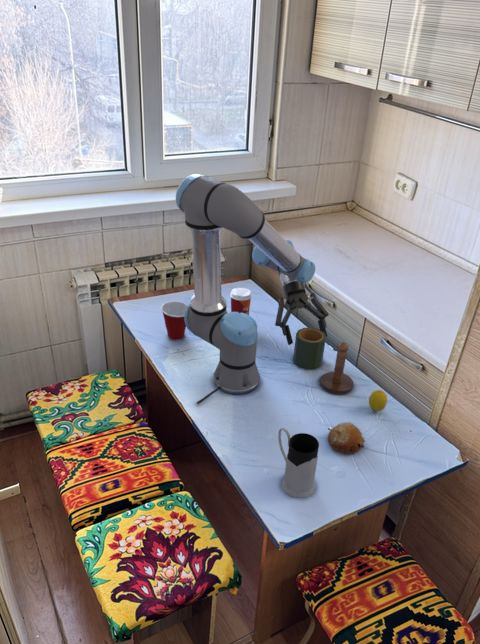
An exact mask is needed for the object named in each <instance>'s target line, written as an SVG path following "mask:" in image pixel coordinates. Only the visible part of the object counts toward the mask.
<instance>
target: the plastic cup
mask: <svg viewBox="0 0 480 644" xmlns="http://www.w3.org/2000/svg"><path fill="white" fill-rule="evenodd" d="M188 305H189V304H187V302H186V303H185V302H182V301H178V300H173V301H166V302H165V303H163V304H161V307H160V311H161V312H162V316H163V319H164V324H165V325H164V326H165V329H166V333H167V336H168V338H169V339H170V340H173V341H179V340H182V339H184V337H185V332H186V330H187V329H186V328H187V327H186V325H185V321H184V315H185V311H187V307H188Z"/></svg>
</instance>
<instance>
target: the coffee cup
mask: <svg viewBox="0 0 480 644" xmlns="http://www.w3.org/2000/svg"><path fill="white" fill-rule="evenodd" d="M229 296H230V312H238V313H245V314H247V315H249V316H250V310H251V302H252V301H251V300H252V298H253V294H252V291H251V290H250V289H248V288H245V287H235V288H232V290H231V291H230V293H229Z"/></svg>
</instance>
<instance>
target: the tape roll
mask: <svg viewBox="0 0 480 644" xmlns="http://www.w3.org/2000/svg"><path fill="white" fill-rule="evenodd" d="M294 339H295V341H294V350H293V358H292V360H293V363H294V365H296V366H297V367H298V368H300V369H303V370H316V369H318V368H320V367H321V366H322V364H323V361H324V353H325V346H326V340H327V337H326V336H325V333H324V332H322V331H321V330H320V328H315V327H302V328H300V329H298V330H297V332H295V338H294Z"/></svg>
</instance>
